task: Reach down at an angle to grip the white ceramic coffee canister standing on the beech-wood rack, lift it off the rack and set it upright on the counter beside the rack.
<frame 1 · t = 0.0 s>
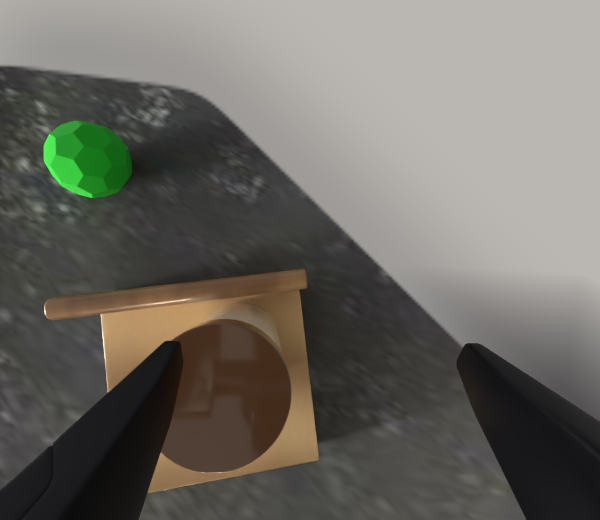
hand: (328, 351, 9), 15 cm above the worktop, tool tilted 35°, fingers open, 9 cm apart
polyhedron: (110, 173, 23), on the worktop
rack: (216, 370, 23), on the worktop
coffee canister: (240, 340, 22), point 2 cm above the worktop, touching rack
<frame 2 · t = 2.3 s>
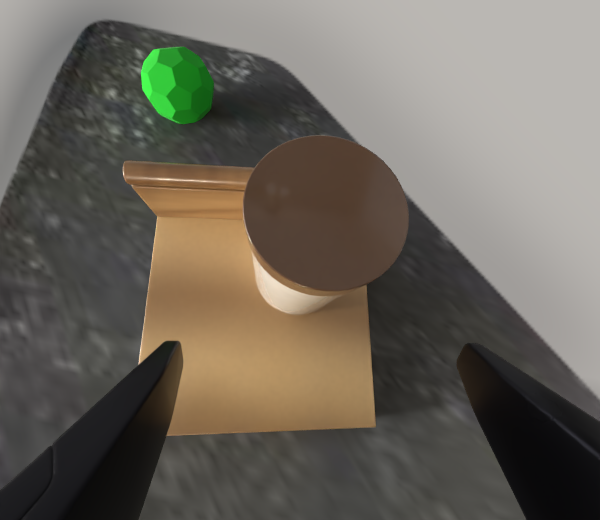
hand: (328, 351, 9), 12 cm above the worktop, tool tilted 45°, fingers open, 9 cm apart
polyhedron: (188, 112, 25), on the worktop
rack: (261, 311, 21), on the worktop
coffee canister: (297, 272, 20), point 2 cm above the worktop, touching rack
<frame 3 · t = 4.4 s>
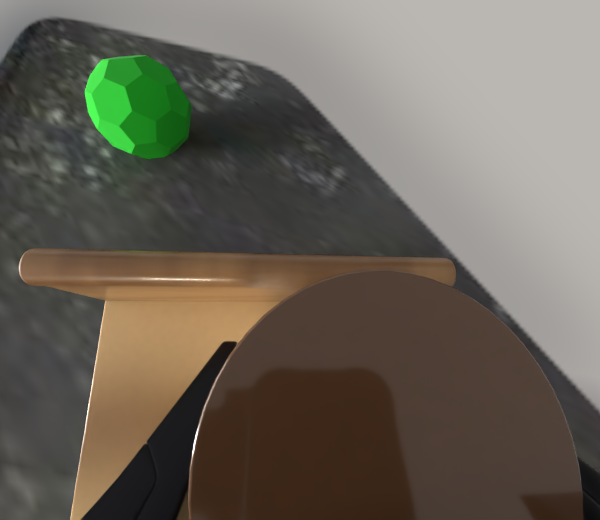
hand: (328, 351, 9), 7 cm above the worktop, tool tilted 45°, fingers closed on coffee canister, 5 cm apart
polyhedron: (159, 140, 19), on the worktop
rack: (255, 426, 15), on the worktop
coffee canister: (305, 378, 14), point 2 cm above the worktop, touching gripper, rack
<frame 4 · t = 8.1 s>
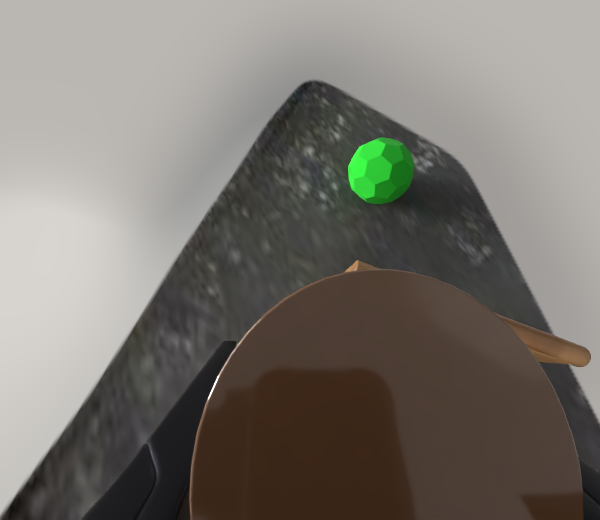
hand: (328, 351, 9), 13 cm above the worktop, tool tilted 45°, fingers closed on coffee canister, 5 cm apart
polyhedron: (369, 187, 26), on the worktop
rack: (391, 406, 21), on the worktop
coffee canister: (306, 378, 14), point 8 cm above the worktop, touching gripper
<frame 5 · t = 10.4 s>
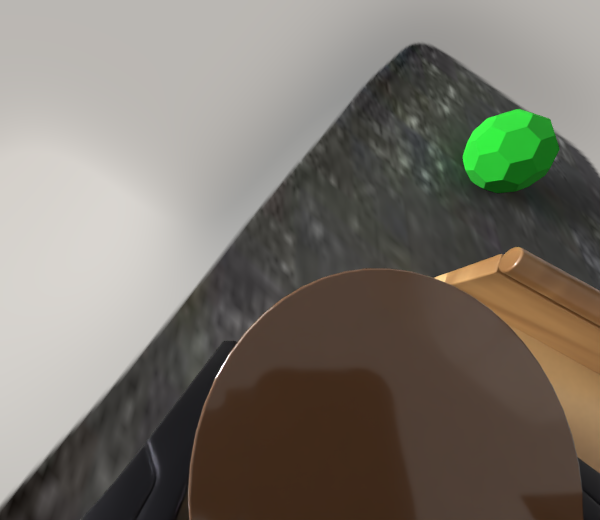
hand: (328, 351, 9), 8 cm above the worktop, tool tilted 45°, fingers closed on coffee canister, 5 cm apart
polyhedron: (479, 174, 21), on the worktop
rack: (494, 446, 17), on the worktop
coffee canister: (305, 378, 14), point 3 cm above the worktop, touching gripper
when the fingers open (5 cm above the worktop, at t = 11.8 s): coffee canister stays where it is, on the worktop.
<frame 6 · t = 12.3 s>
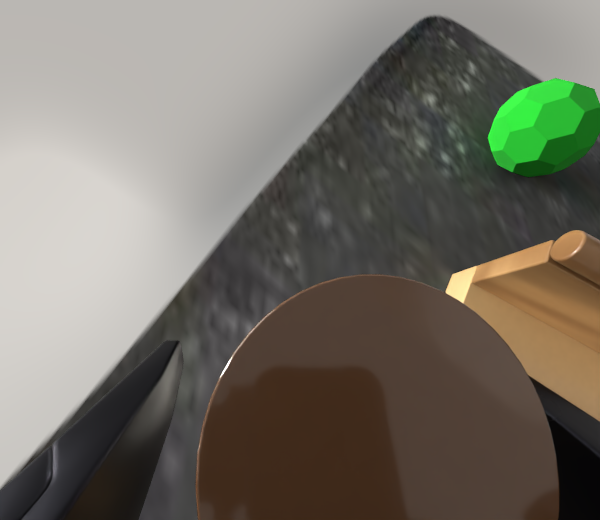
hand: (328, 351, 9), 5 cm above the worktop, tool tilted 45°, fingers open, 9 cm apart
polyhedron: (505, 157, 19), on the worktop
rack: (532, 468, 14), on the worktop
coffee canister: (305, 377, 14), on the worktop
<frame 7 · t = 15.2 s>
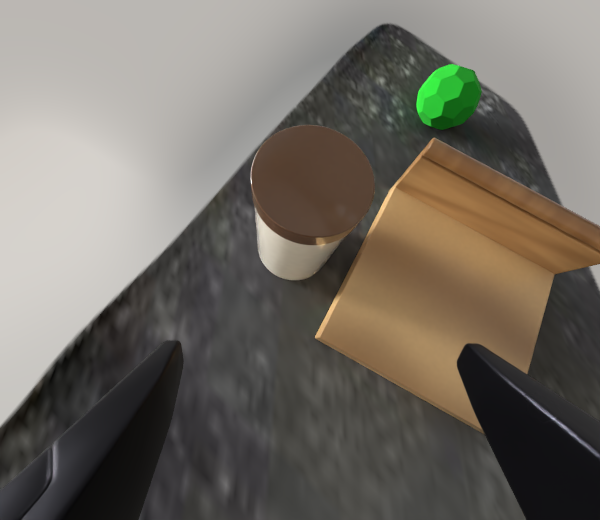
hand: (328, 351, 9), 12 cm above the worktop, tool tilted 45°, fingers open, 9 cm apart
polyhedron: (431, 119, 28), on the worktop
rack: (433, 301, 23), on the worktop
coffee canister: (293, 245, 23), on the worktop
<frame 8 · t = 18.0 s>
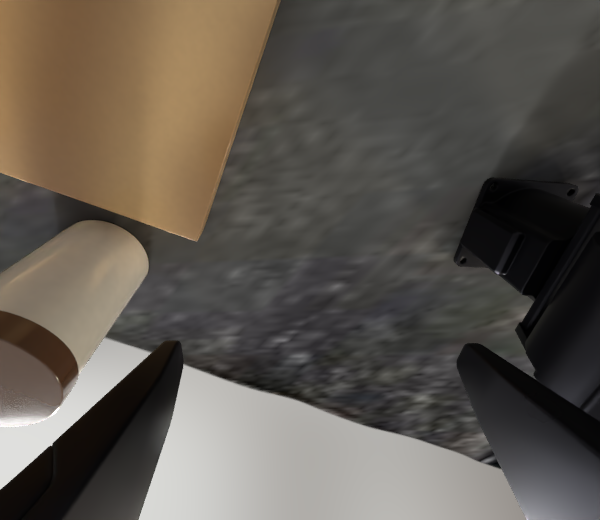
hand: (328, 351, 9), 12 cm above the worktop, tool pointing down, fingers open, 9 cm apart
rack: (105, 59, 15), on the worktop
coffee canister: (105, 257, 20), on the worktop
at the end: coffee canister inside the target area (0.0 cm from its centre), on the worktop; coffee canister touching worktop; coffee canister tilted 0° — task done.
